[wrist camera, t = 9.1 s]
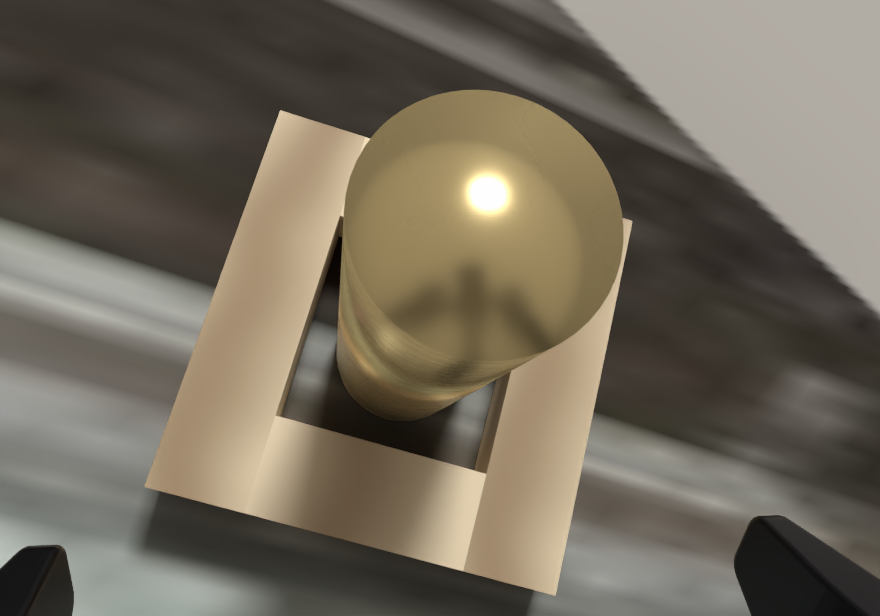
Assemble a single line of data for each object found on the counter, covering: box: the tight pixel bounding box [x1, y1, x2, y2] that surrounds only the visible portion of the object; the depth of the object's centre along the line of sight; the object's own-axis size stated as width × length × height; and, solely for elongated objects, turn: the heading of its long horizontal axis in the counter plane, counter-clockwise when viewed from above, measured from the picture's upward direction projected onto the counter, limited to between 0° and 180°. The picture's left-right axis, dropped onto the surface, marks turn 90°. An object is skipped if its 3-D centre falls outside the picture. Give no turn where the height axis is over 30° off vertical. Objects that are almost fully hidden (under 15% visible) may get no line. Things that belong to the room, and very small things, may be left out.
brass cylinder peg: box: [336, 90, 623, 421], centre depth 17 cm, size 4×4×13 cm
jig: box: [144, 110, 632, 596], centre depth 23 cm, size 12×12×2 cm
